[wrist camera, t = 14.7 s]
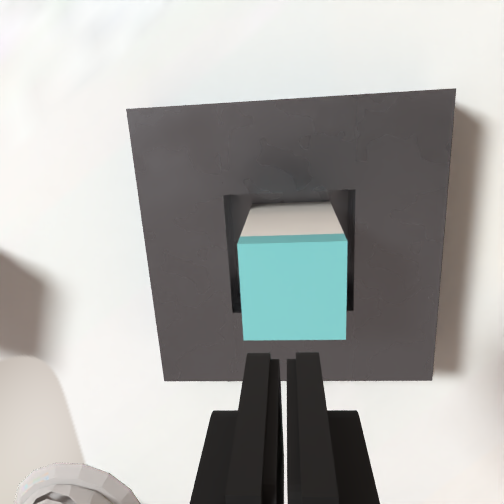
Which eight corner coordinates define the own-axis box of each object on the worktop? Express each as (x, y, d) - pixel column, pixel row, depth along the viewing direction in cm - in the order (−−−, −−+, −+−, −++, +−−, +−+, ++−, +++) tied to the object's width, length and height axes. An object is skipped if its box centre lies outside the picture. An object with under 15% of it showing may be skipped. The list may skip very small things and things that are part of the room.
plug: (329, 201, 22) (347, 241, 16) (329, 274, 24) (346, 339, 17) (252, 204, 23) (237, 244, 16) (256, 275, 24) (243, 340, 17)
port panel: (433, 90, 21) (456, 88, 18) (415, 349, 25) (432, 380, 22) (147, 108, 22) (126, 109, 19) (177, 351, 26) (164, 381, 24)
